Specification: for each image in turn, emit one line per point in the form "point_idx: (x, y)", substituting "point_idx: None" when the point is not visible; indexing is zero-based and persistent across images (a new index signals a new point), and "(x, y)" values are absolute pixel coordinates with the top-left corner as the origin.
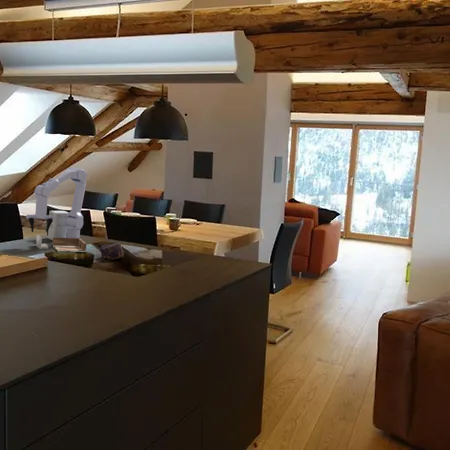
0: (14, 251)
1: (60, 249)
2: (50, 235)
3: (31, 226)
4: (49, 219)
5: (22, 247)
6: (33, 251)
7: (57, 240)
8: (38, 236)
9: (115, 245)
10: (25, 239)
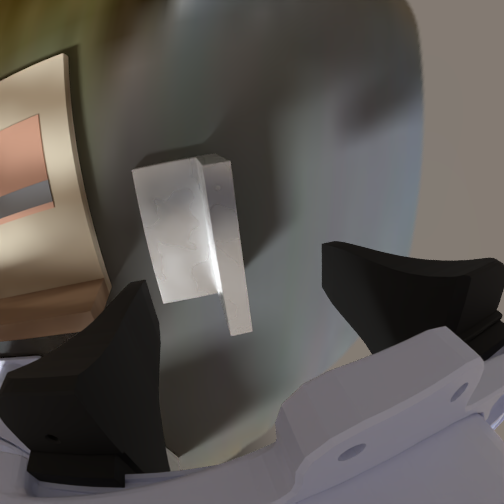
0: (379, 47)
1: (39, 98)
2: None
3: (394, 255)
4: (85, 461)
5: (332, 182)
6: (260, 43)
7: (63, 303)
8: (238, 262)
9: None
10: None
